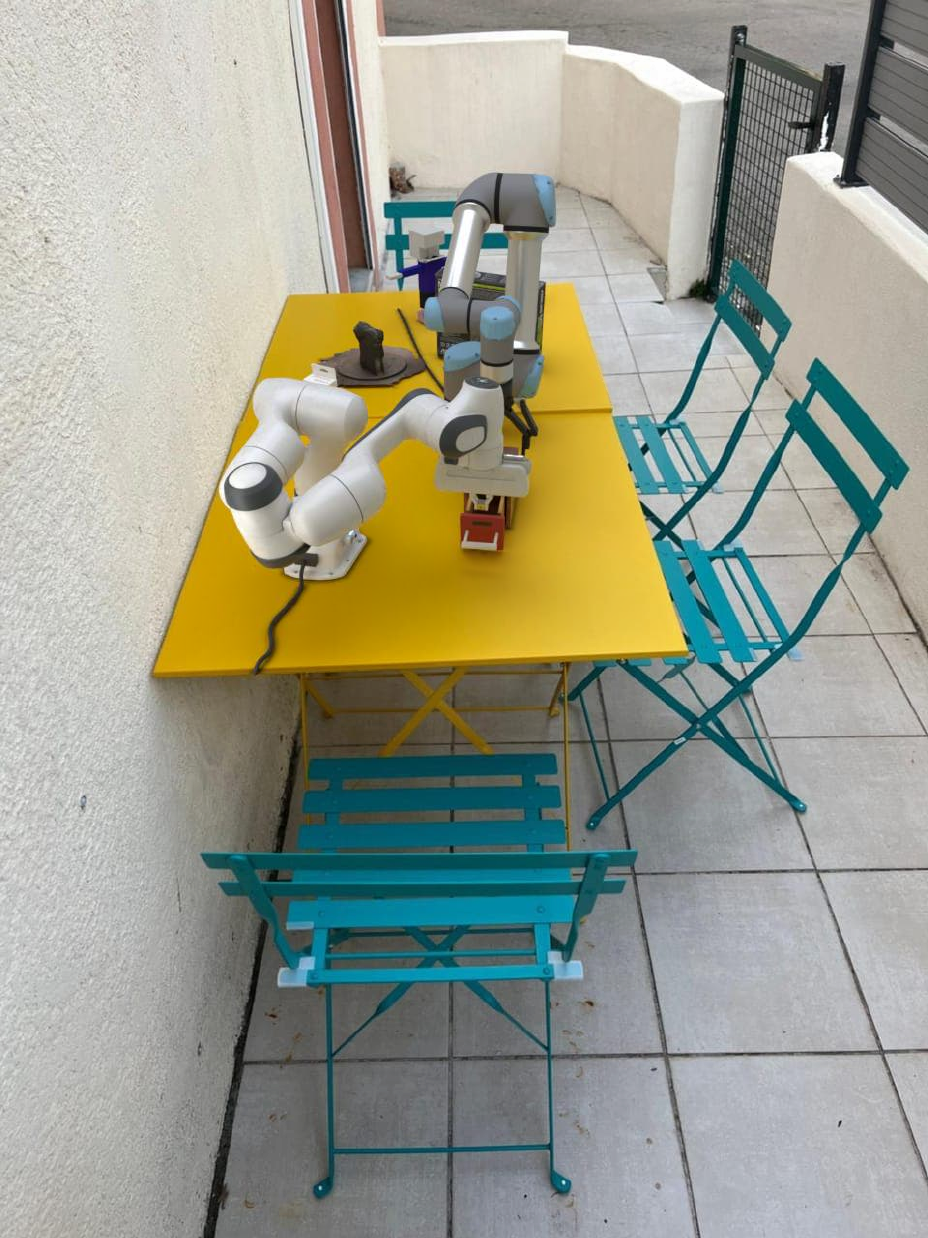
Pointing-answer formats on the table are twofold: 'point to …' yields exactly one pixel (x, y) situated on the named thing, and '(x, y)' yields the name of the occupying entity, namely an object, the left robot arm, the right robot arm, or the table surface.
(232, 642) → the table surface
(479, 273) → the box
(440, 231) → the toy
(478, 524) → the drawer
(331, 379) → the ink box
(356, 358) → the sculpture
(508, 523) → the cabinet
